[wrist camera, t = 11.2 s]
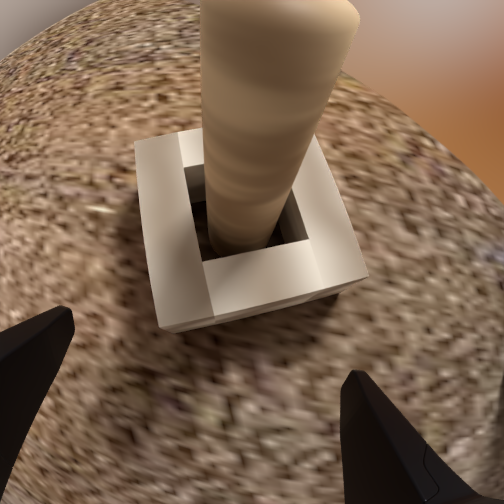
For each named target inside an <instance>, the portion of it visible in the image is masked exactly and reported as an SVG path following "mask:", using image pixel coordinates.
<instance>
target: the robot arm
mask: <svg viewBox="0 0 504 504" xmlns="http://www.w3.org/2000/svg"><path fill="white" fill-rule="evenodd" d="M74 332H75V325H74V320H73V314H72V310H71V309H70V308H68V307H65V306H62V305H59V306H57V307H55V308H52V309H50V310H48V311H46V312H43V313H41V314H39V315H37V316H35V317H32V318H30V319H28V320H26V321H24V322H21V323H19V324H17V325H15V326H13V327H11V328H8V329H6V330H4V331H2V332H0V501H1V498H2V496H3V493H4V490H5V487H6V485H7V482H8V479H9V477H10V474H11V471H12V469H13V468H12V467H13V466H14V464H15V461H16V459H17V456H18V454H19V452H20V449H21V447H22V445H23V442H24V440H25V438H26V436H27V433H28V431H29V429H30V427H31V425H32V423H33V420H34V418H35V416H36V414H37V412H38V410H39V408H40V406H41V404H42V402H43V400H44V398H45V396H46V394H47V392H48V390H49V388H50V386H51V384H52V382H53V381H54V379H55V377H56V375H57V373H58V371H59V369H60V366H61V364H62V361H63V359H64V357H65V354H66V352H67V349H68V347H69V345H70V342H71V340H72V338H73V335H74ZM340 441H341V453H342V466H343V480H344V497H345V504H504V500H499V499H493V498H488V497H484V496H482V495H480V494H478V493H477V492H475V491H474V490H473V489H472V488H471V487H470V486H469V485H468V484H466V483H465V482H464V481H463V480H462V479H461V478H460V477H459V476H458V475H457V474H456V473H455V472H454V471H453V470H452V469H451V468H450V467H449V466H448V465H447V464H446V463H445V462H444V461H443V460H442V459H441V458H440V457H439V456H438V455H437V454H436V452H435V451H434V450H433V449H432V448H431V447H430V446H429V444H427V442H426V441H425V440H424V439H423V438H422V436H421V435H420V434H419V433H418V432H417V431H416V429H415V428H414V427H413V426H412V425H411V424H410V423H409V421H408V420H407V419H406V418H405V417H404V416H403V414H402V413H401V412H400V411H399V410H398V409H397V407H396V406H395V405H394V404H393V403H392V402H391V401H390V399H389V398H388V397H387V396H386V395H385V394H384V393H383V391H382V390H381V389H380V388H379V387H378V386H377V384H376V383H375V382H374V381H373V380H372V379H371V378H370V376H369V375H368V374H367V373H366V372H365V371H363V370H352V371H351V372H350V373H349V375H348V377H347V378H346V380H345V382H344V383H343V385H342V387H341V393H340Z"/></svg>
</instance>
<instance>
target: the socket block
mask: <svg viewBox="0 0 504 504" xmlns="http://www.w3.org/2000/svg"><path fill="white" fill-rule="evenodd" d="M134 145H135V160H136V173H137V184H138V194H139V204H140V213H141V221H142V229H143V237H144V244H145V251H146V257H147V264H148V270H149V276H150V282H151V288H152V294H153V299H154V304H155V310H156V315H157V320H158V325H159V328H161V329H164V330H166V331H168V332H170V333H178V332H183V331H188V330H192V329H197V328H202V327H206V326H211V325H215V324H220V323H224V322H229V321H233V320H237V319H241V318H246V317H250V316H254V315H258V314H262V313H266V312H270V311H274V310H278V309H282V308H286V307H290V306H293V305H297V304H301V303H305V302H308V301H312V300H316V299H319V298H323V297H327V296H330V295H334V294H337V293H340V292H342V291H344V290H346V289H347V288H349V287H351V286H353V285H355V284H356V283H358V282H360V281H362V280H363V279H365V278H367V277H369V274H368V271H367V268H366V265H365V262H364V259H363V256H362V253H361V250H360V247H359V244H358V241H357V238H356V236H355V233H354V230H353V227H352V225H351V222H350V219H349V217H348V214H347V211H346V209H345V206H344V203H343V201H342V198H341V196H340V193H339V191H338V188H337V186H336V183H335V181H334V178H333V176H332V174H331V171H330V169H329V166H328V164H327V162H326V159H325V157H324V155H323V153H322V150H321V148H320V146H319V143H318V141H317V139H316V137H315V135H314V136H313V138H312V140H311V143H310V145H309V148H308V150H307V152H306V155H305V157H304V159H303V162H302V164H301V167H300V169H299V171H298V174H297V176H296V178H295V181H294V183H293V185H292V188H291V190H290V193H289V195H288V197H287V200H286V202H285V204H284V207H283V209H282V211H281V214H280V216H279V218H278V223H279V226H280V229H281V233H282V236H283V239H284V242H285V244H284V245H279V246H275V247H270V248H265V249H261V250H256V251H251V252H246V253H242V254H237V255H232V256H228V257H223V258H218V259H214V260H209V261H204V262H202V259H201V254H200V250H199V245H198V240H197V235H196V230H195V225H194V220H193V215H192V210H191V205H190V204H191V203H196V202H201V201H206V189H205V172H204V153H203V131H202V128H198V129H192V130H187V131H181V132H176V133H171V134H166V135H161V136H156V137H152V138H147V139H143V140H139V141H134Z"/></svg>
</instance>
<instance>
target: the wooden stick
mask: <svg viewBox="0 0 504 504" xmlns="http://www.w3.org/2000/svg"><path fill="white" fill-rule="evenodd" d="M359 23H360V16H359V14H358V12H357V10H356V9H355V7H354V6H353V5H352V4H351V3H350V2H348V1H347V0H200V65H201V104H202V131H203V153H204V172H205V189H206V205H207V219H208V233H209V240H210V243H211V246H212V247H213V249H214V250H215V252H216V253H217V254H218V255H220V256H221V257H222V258H223V257H228V256H232V255H237V254H242V253H246V252H251V251H256V250H261V249H265V248H266V246H267V244H268V242H269V239H270V237H271V235H272V232H273V230H274V228H275V225H276V223H277V221H278V218H279V216H280V214H281V211H282V209H283V207H284V204H285V202H286V200H287V197H288V195H289V193H290V190H291V188H292V185H293V183H294V181H295V178H296V176H297V174H298V171H299V169H300V167H301V164H302V162H303V159H304V157H305V155H306V152H307V150H308V148H309V145H310V143H311V140H312V138H313V136H314V133H315V131H316V128H317V126H318V124H319V121H320V119H321V116H322V114H323V112H324V109H325V107H326V104H327V102H328V100H329V97H330V95H331V92H332V90H333V87H334V85H335V83H336V80H337V78H338V75H339V73H340V70H341V68H342V65H343V63H344V61H345V58H346V56H347V53H348V50H349V48H350V46H351V43H352V41H353V38H354V36H355V34H356V31H357V28H358V26H359Z"/></svg>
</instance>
